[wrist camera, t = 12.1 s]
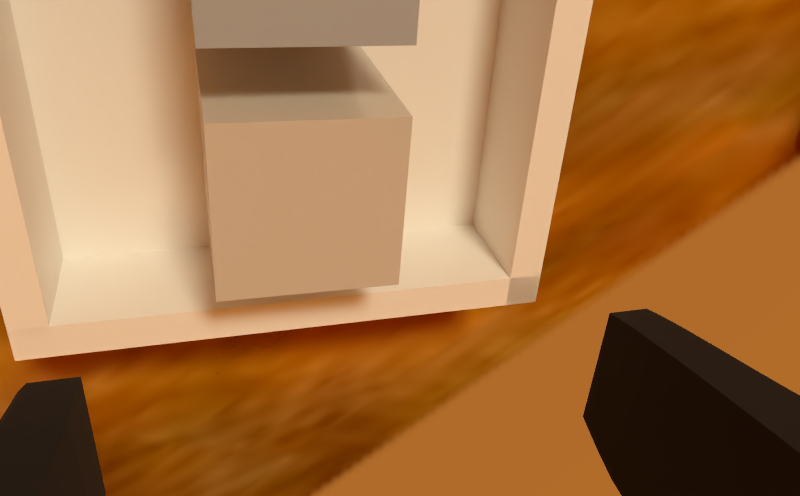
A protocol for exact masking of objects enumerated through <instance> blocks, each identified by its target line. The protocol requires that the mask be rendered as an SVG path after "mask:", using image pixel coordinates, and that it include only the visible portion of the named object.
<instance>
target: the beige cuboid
mask: <svg viewBox="0 0 800 496" xmlns="http://www.w3.org/2000/svg"><path fill="white" fill-rule="evenodd" d="M194 49H195V44H194ZM195 63H196V76H197V90H198V103H199V117H200V131H201V144H202V158H203V171H204V185H205V197H206V207H207V216H208V226H209V236H210V246H211V255H212V265H213V275H214V284H215V294H216V302H220V301H230V300H241V299H252V298H262V297H273V296H284V295H294V294H305V293H315V292H326V291H337V290H347V289H358V288H368V287H379V286H390V285H399V275H400V263H401V251H402V240H403V228H404V216H405V204H406V192H407V180H408V168H409V156H410V145H411V133H412V121H413V116H412V115H411V114H410V112H409V111H408V110H407V108H406V107H405V106H404V104H403V103H402V102H401V100H400V99H399V98H398V96H397V95H396V94H395V92H394V91H393V89H392V88H391V87H390V85H389V84H388V83H387V81H386V80H385V79H384V77H383V76H382V75H381V73H380V72H379V71H378V69H377V68H376V67H375V65H374V64H373V63H372V61H371V60H370V58H369V57H368V56H367V54H366V53H365V52H364V50H363V49H362V48H361V46H340V47H273V48H205V49H195Z"/></svg>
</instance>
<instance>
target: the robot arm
mask: <svg viewBox="0 0 800 496" xmlns="http://www.w3.org/2000/svg"><path fill="white" fill-rule="evenodd" d="M587 400H588V401H587V403H586V407H585V411H584V415H583V417H584V420H585V422H586V424H587V427H588V429H589V431H590V434H591V436H592V438H593V440H594V443H595V445H596V447H597V450H598V452H599V454H600V456H601V458H602V460H603V462H604V464H605V466H606V469H607V471H608V473H609V475H610V477H611V479H612V480H613V482H614V484H615V485H616V487H617V489H618V490H619V492H620V494H621V495H622V496H800V395H798V394H796V393H794V392H792V391H791V390H789V389H787V388H785V387H784V386H782V385H780V384H778V383H777V382H775V381H773V380H771V379H770V378H768V377H766V376H765V375H763V374H761V373H759V372H758V371H756V370H754V369H752V368H751V367H749V366H747V365H746V364H744V363H742V362H741V361H739V360H737V359H736V358H734V357H732V356H730V355H729V354H727V353H725V352H724V351H722V350H720V349H719V348H717V347H715V346H713V345H712V344H710V343H708V342H707V341H705V340H703V339H701V338H700V337H698V336H696V335H694V334H693V333H691V332H689V331H687V330H686V329H684V328H682V327H681V326H679V325H677V324H675V323H673V322H671V321H670V320H668V319H666V318H664V317H662V316H660V315H658V314H656V313H654V312H652V311H650V310H648V309H641V310H633V311H624V312H616V313H610V314H609V318H608V323H607V326H606V330H605V334H604V338H603V342H602V346H601V349H600V353H599V357H598V361H597V365H596V369H595V372H594V377H593V380H592V384H591V388H590V392H589V396H588V399H587ZM0 496H105V488H104V484H103V479H102V474H101V470H100V465H99V460H98V456H97V451H96V446H95V442H94V437H93V432H92V428H91V423H90V418H89V414H88V409H87V404H86V400H85V395H84V390H83V386H82V381H81V377H75V378H67V379H59V380H51V381H42V382H34V383H26V384H25V385H24V386H23V387H22V388H21V389H20V390H19V391H18V392H17V394H16V396H15V397H14V399H13V400H12V402H11V404H10V405H9V407H8V409H7V410H6V412H5V413H4V415H3V416H2V418H1V420H0Z"/></svg>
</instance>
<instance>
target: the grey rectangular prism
mask: <svg viewBox="0 0 800 496" xmlns="http://www.w3.org/2000/svg"><path fill="white" fill-rule="evenodd" d="M419 4H420V0H190V8H191V16H192V24H193V32H194V40H195V49H205V48H273V47H340V46H408V45H416V44H417V31H418V18H419Z"/></svg>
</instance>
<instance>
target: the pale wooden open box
mask: <svg viewBox="0 0 800 496" xmlns="http://www.w3.org/2000/svg"><path fill="white" fill-rule="evenodd" d="M592 4H593V0H420V4H419V18H418V31H417V44H416V45H408V46H361V48H362V49H363V50H364V52H365V53H366V54H367V56H368V57H369V58H370V60H371V61H372V63H373V64H374V65H375V67H376V68H377V69H378V71H379V72H380V73H381V75H382V76H383V77H384V79H385V80H386V81H387V83H388V84H389V85H390V87H391V88H392V89H393V91H394V92H395V94H396V95H397V96H398V98H399V99H400V100H401V102H402V103H403V104H404V106H405V107H406V108H407V110H408V111H409V112H410V114H411V115H412V116H413V121H412V133H411V145H410V156H409V168H408V180H407V192H406V204H405V216H404V228H403V240H402V251H401V263H400V275H399V285H390V286H379V287H368V288H358V289H347V290H337V291H326V292H315V293H305V294H294V295H284V296H273V297H262V298H252V299H241V300H230V301H220V302H216V294H215V284H214V275H213V265H212V255H211V246H210V236H209V226H208V216H207V207H206V197H205V185H204V171H203V158H202V144H201V131H200V117H199V103H198V90H197V76H196V63H195V49H194V44H195V40H194V32H193V24H192V16H191V8H190V0H0V307H1V311H2V315H3V318H4V322H5V326H6V329H7V333H8V337H9V341H10V344H11V348H12V352H13V355H14V359H15V361H19V360H28V359H37V358H46V357H54V356H63V355H72V354H81V353H89V352H98V351H107V350H116V349H125V348H133V347H142V346H151V345H160V344H168V343H177V342H186V341H195V340H203V339H212V338H221V337H230V336H239V335H247V334H256V333H265V332H274V331H282V330H291V329H300V328H309V327H317V326H326V325H335V324H344V323H353V322H361V321H370V320H379V319H388V318H396V317H405V316H414V315H423V314H431V313H440V312H449V311H458V310H467V309H475V308H484V307H493V306H502V305H510V304H519V303H528V302H535V301H536V296H537V290H538V285H539V280H540V275H541V270H542V264H543V259H544V254H545V249H546V243H547V238H548V233H549V228H550V223H551V217H552V212H553V207H554V202H555V197H556V191H557V186H558V181H559V176H560V171H561V165H562V160H563V155H564V150H565V144H566V139H567V134H568V129H569V124H570V118H571V113H572V108H573V103H574V98H575V92H576V87H577V82H578V77H579V72H580V66H581V61H582V56H583V51H584V45H585V40H586V35H587V30H588V25H589V19H590V14H591V9H592Z"/></svg>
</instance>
